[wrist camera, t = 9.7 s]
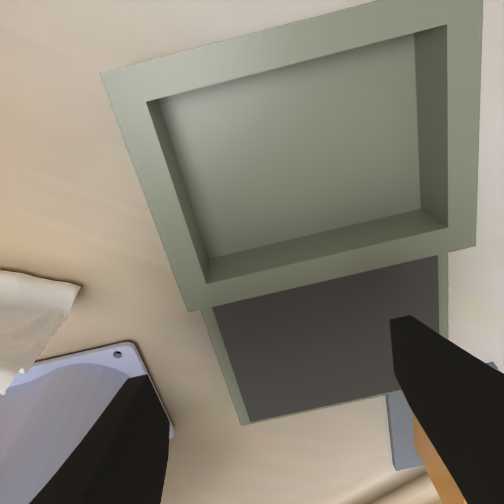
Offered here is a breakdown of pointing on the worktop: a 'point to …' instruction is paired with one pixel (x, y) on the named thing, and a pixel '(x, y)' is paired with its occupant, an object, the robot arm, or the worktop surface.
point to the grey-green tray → (312, 189)
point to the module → (436, 467)
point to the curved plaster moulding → (29, 319)
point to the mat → (403, 431)
